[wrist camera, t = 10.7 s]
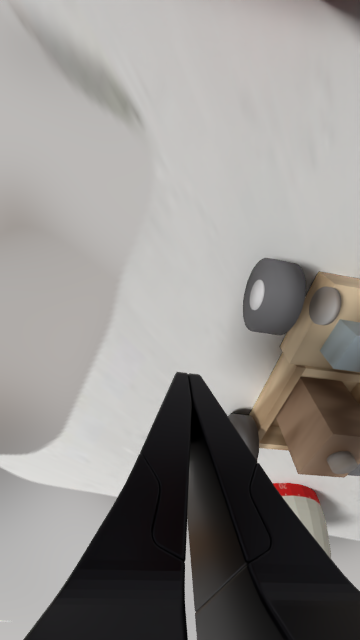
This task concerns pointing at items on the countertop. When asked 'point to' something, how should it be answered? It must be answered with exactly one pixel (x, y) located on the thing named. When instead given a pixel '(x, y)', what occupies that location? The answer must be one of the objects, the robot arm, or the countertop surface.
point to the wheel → (274, 296)
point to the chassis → (310, 357)
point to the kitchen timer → (306, 511)
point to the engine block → (321, 427)
